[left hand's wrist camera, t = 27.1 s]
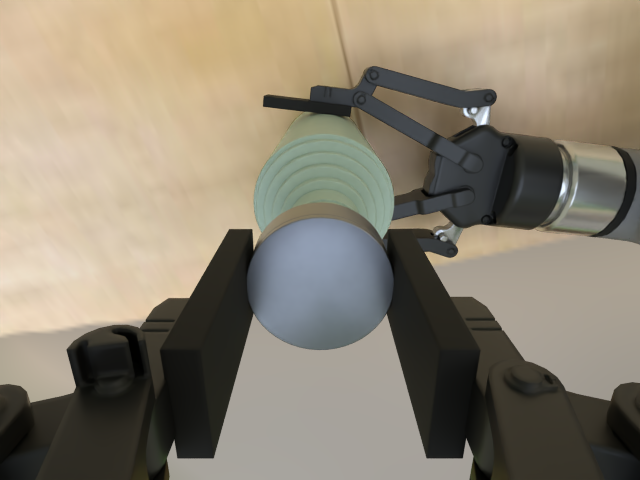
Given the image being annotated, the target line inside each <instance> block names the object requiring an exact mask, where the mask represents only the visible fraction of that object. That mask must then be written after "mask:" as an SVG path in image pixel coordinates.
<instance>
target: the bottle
mask: <svg viewBox="0 0 640 480" xmlns="http://www.w3.org/2000/svg"><path fill="white" fill-rule="evenodd" d="M320 202H323V203H332V204H337V205H341V206H344V207H347V208H349V209H351V210H353V211H355V212H357V213H359V214H360V215H362V216H363V217H364V218H366V219H367V220H368V221H369V222H370V223H371V224H372V225H373V226H374V228H375V229H376V230H377V232H378V233H379V235H380V236H381V238H382V239H383V237H384V236H385V234H386V232H387V230H388V228H389V226H390V223H391V220H392V216H393V211H394V192H393V187H392V183H391V179H390V177H389V175H388V172H387V170H386V169H385V167H384V165H383V164H382V162H381V161H380V159H379V158H378V156H377V155H376V154H375V152H374V151H373V149H372V148H371V146H370V145H369V143H368V142H367V141H366V139H365V138H364V136H363V135H362V133H361V132H360V130H359V129H358V128H357V126H356V125H355V123H354V122H353V121H352V120H351V119H350V118H349V117H345V116H337V115H329V114H321V113H312V112H304V113H303V114H301V115H300V116H298V117H297V118H296V119H295V120H294V121H293V123H292V124H291V126H290V127H289V129H288V130H287V132H286V133H285V135H284V136H283V138H282V139H281V141H280V142H279V144H278V146H277V147H276V149H275V150H274V152H273V153H272V155H271V156H270V158H269V159H268V161H267V162H266V164H265V166H264V167H263V169H262V171H261V173H260V175H259V177H258V180H257V183H256V186H255V192H254V212H255V216H256V220H257V223H258V226H259V228H260V230H261V232H263V231H264V229H265V228H266V227H267V226H268V225H269V223H270V222H271V221H272V220H274V219H275V218H276V217H277V216H279V215H280V214H282V213H283V212H285V211H287V210H289V209H291V208H293V207H296V206H300V205H303V204H308V203H320Z"/></svg>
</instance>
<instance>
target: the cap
mask: <svg viewBox="0 0 640 480" xmlns="http://www.w3.org/2000/svg"><path fill="white" fill-rule="evenodd" d="M246 278H247V293H248V301H249V304H250V306H251V309H252V311H253V313H254V314H255V316H256V318H257V319H258V320H259V322H260V323H261V324H262V325H263V326H264V327H265V328H266V329H267V330H268V331H269V332H270V333H271V334H273V335H274V336H275V337H277V338H279V339H280V340H282V341H284V342H286V343H289V344H291V345H294V346H297V347H301V348H305V349H313V350H328V349H335V348H340V347H344V346H346V345H349V344H352V343H354V342H356V341H358V340H360V339H362V338H363V337H365V336H366V335H368V334H369V333H370V332H371V331H373V330H374V329H375V328H376V327H377V326H378V324H379V323H380V322H381V321H382V320H383V318H384V317H385V315H386V314H387V311H388V309H389V307H390V305H391V302H392V297H393V283H394V272H393V268H392V265H391V262H390V259H389V256H388V253H387V251H386V248H385V245H384V243H383V241H382V238H381V236H380V235H379V233H378V232H377V230H376V229H375V228H374V226H373V225H372V224H371V223H370V222H369V221H368V220H367V219H366V218H364V217H363V216H362V215H360V214H359V213H357V212H355V211H353V210H351V209H349V208H347V207H344V206H341V205H337V204H332V203H323V202H320V203H308V204H303V205H300V206H296V207H293V208H291V209H289V210H287V211H285V212H283V213H282V214H280V215H279V216H277V217H276V218H275V219H274V220H272V221H271V222H270V223H269V225H268V226H267V227H266V228H265V229H264V231H263V232H262V234H261V235H260V237H259V239H258V241H257V244H256V246H255V249H254V252H253V254H252V257H251V260H250V263H249V266H248V269H247V274H246Z"/></svg>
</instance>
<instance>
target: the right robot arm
mask: <svg viewBox="0 0 640 480" xmlns="http://www.w3.org/2000/svg"><path fill="white" fill-rule="evenodd" d="M376 86H380V87H384V88H388V89H391V90H395V91H398V92H402V93H406V94H409V95H413V96H416V97H420V98H424V99H427V100H431V101H434V102H438V103H442V104H445V105H450V106H454V107H459V108H460V113H461V115H462V116H464V117H468V118H470V119H471V120H472V121H473V125H472V126H470V127H468V128H466V129H465V130H463V131H461V132H459V133H457V134H455V135H453V136H452V137H450V138H448V139H446V138H444V137H442V136H440V135H439V134H437V133H435V132H433V131H432V130H430V129H428V128H426V127H425V126H423V125H421V124H419V123H418V122H416V121H414V120H413V119H411V118H409V117H407V116H406V115H404V114H402V113H400V112H399V111H397V110H395V109H394V108H392V107H390V106H388V105H387V104H385V103H383V102H381V101H380V100H378V99H376V98H375V97H373V96H372V94H373V92H374V90H375V88H376ZM496 98H497V95H496V93H495V91H494V90H491V89H479V88H477V89H467V90H458V89H455V88H451V87H448V86H444V85H441V84H437V83H434V82H430V81H427V80H423V79H419V78H416V77H412V76H409V75H405V74H402V73H398V72H395V71H391V70H388V69H384V68H380V67H377V66H372V67H368V68H366V69H365V70H364V72H363V75H362V77H361V79H360V81H359V83H358V85H357V86H356V87H354V88H352V89H345V88H337V87H328V86H320V85H317V86H314V87H311V93H310V100H309V99H301V98H293V97H284V96H276V95H265V96H264V100H263V107H271V108H279V109H287V110H296V111H304V112H312V113H321V114H329V115H337V116H345V117H350V114H351V107H358V108H359V109H361V110H363V111H365V112H366V113H368V114H370V115H372V116H373V117H375V118H377V119H379V120H380V121H382V122H384V123H386V124H387V125H389V126H391V127H393V128H395V129H396V130H398V131H400V132H402V133H403V134H405V135H407V136H409V137H410V138H412V139H414V140H416V141H417V142H419V143H421V144H423V145H424V146H426V147H428V148H429V149H431V150H433V151H430V156H429V171H428V173H427V175H426V177H425V180H424V185H423V188H419V189H415V190H413V191H411V192H410V193H406V194H403V195H399V196H395V197H394V211H393V216H392V220H396V219H400V218H404V217H408V216H412V215H416V214H422V215H424V214H429V213H433V212H437V211H440V212H441V213H442V214H443V215H444V216H445V217H446V218H447V219H448V220H450V222H449V223H448V224H447V225H445V226H437V227H435V228H434V229H433V230H428V229H411V230H412V232H413V234H414V235H415V237H416V239H417V241H418V242H419V244H420V246H421V248H422V249H423V251H424V252H433V253H436V254H439V255H442V256H445V257H449V258H451V257H454V256H456V254H457V253H458V248H457V247H456V243H457V241H458V238H459V236H460V234H461V232H462V230H463V228H469V227H471V226H474V225H479V224H482V225H489V226H498V227H507V228H516V229H525V230H531V229H534V228H535V229H536V230H537V231H542V232H551V233H561V234H572V235H582V236H590V237H600V238H608V239H615V240H623V241H629V242H634V243H637V244H640V150H636V149H626V148H618V147H614V146H608V145H600V144H592V143H584V142H576V141H568V140H555V141H552V140H551V139H549V138H543V137H535V136H527V135H519V134H510V133H503V132H499V131H497V130H496V129H495V128H494V127H492V126H491V125H490V107H491V105H492V104H494V103H495V101H496ZM392 220H391V221H392ZM387 238H388V230H387V232H386V234H385V236H384V237H383V239H382V241H383V243H384V245H385V248H386V251H387Z"/></svg>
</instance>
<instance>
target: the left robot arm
mask: <svg viewBox="0 0 640 480" xmlns="http://www.w3.org/2000/svg"><path fill="white" fill-rule="evenodd" d="M253 252H254V249H253V233H252V229H229V231H228V232H227V234H226V236H225V238H224V239H223V241H222V243H221V245H220V246H219V248H218V250H217V251H216V253H215V255H214V257H213V258H212V260H211V262H210V264H209V265H208V267H207V269H206V271H205V272H204V274H203V276H202V277H201V279H200V281H199V283H198V284H197V286H196V288H195V290H194V291H193V293H192V295H191V296H190V298H168V299H167V300H165V301H164V302H162V303H161V304H159V305H158V306H156V307H155V308H154V309H153V310H152V312H151V313H150V314H149V316H148V317H147V319H146V322H144V323H143V324H142V326H141V327H140V329H139V328H138V327H134V326H130V325H112V326H107V327H103V328H99V329H96V330H94V331H91V332H89V333H86V334H84V335H83V336H81V337H80V338H78V339H76V340H75V341H74V342H73V343H72V344H71V345H70V346H69V347H68V349H67V353H68V357H69V361H70V365H71V369H72V373H73V376H74V380H75V384H76V389H75V391H74V393H72V394H68V395H64V396H61V397H56V398H51V399H46V400H42V401H37V402H32V403H30V401H29V397H28V394H27V392H26V391H25V390H24V389H23V388H22V387H21V386H16V385H10V384H6V385H0V480H169V469H168V463H167V456H168V454H169V451H170V449H171V446H172V444H173V441H174V440H175V446H176V452H177V458H214V455H215V451H216V448H217V444H218V440H219V437H220V433H221V430H222V426H223V422H224V419H225V415H226V412H227V408H228V404H229V401H230V397H231V393H232V390H233V386H234V382H235V379H236V375H237V372H238V368H239V364H240V361H241V357H242V353H243V350H244V346H245V342H246V339H247V335H248V331H249V328H250V324H251V321H252V317H253V311H252V309H251V306H250V304H249V301H248V293H247V278H246V274H247V269H248V266H249V263H250V260H251V257H252V254H253ZM387 253H388V256H389V259H390V262H391V265H392V268H393V272H394V283H393V297H392V302H391V305H390V307H389V309H388V311H387V316H388V320H389V323H390V327H391V331H392V334H393V338H394V342H395V345H396V349H397V352H398V356H399V359H400V363H401V367H402V370H403V374H404V378H405V381H406V385H407V389H408V392H409V396H410V400H411V403H412V407H413V410H414V414H415V418H416V421H417V425H418V429H419V432H420V436H421V439H422V443H423V446H424V450H425V454H426V458H463V454H464V448H465V442H466V438H467V441H468V443H469V446H470V448H471V451H472V453H473V456H474V457H473V463H472V469H471V474H470V480H640V383H634V382H631V383H625V384H620V385H619V386H618V387H617V388H616V389H615V390H614V392H613V395H612V399H611V401H607V400H603V399H598V398H593V397H589V396H584V395H579V394H575V393H572V392H568V391H566V390H565V388H564V386H563V385H562V383H561V382H560V380H559V379H558V378H557V377H556V376H555V375H554V374H552V373H551V372H549V371H548V370H547V369H545V368H543V367H541V366H538V365H536V364H534V363H531V362H527V361H525V360H524V359H523V357H522V356H521V354H520V353H519V352H518V350H517V349H516V347H515V346H514V345H513V343H512V342H511V340H510V339H509V338H508V336H507V335H506V333H505V332H504V331H502V328H501V326H500V325H499V323H498V322H497V321H495V318H494V316H493V315H492V314H491V312H490V311H489V309H488V308H487V307H486V306H485V305H483V304H482V303H480V302H479V301H477V300H476V299H474V298H473V297H450V296H449V294H448V292H447V291H446V289H445V287H444V286H443V284H442V282H441V280H440V279H439V277H438V275H437V273H436V272H435V270H434V268H433V267H432V265H431V263H430V261H429V260H428V258H427V256H426V254H425V253H424V251H423V249H422V248H421V246H420V244H419V242H418V241H417V239H416V237H415V235H414V234H413V232H412V230H411V229H388V238H387Z"/></svg>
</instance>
